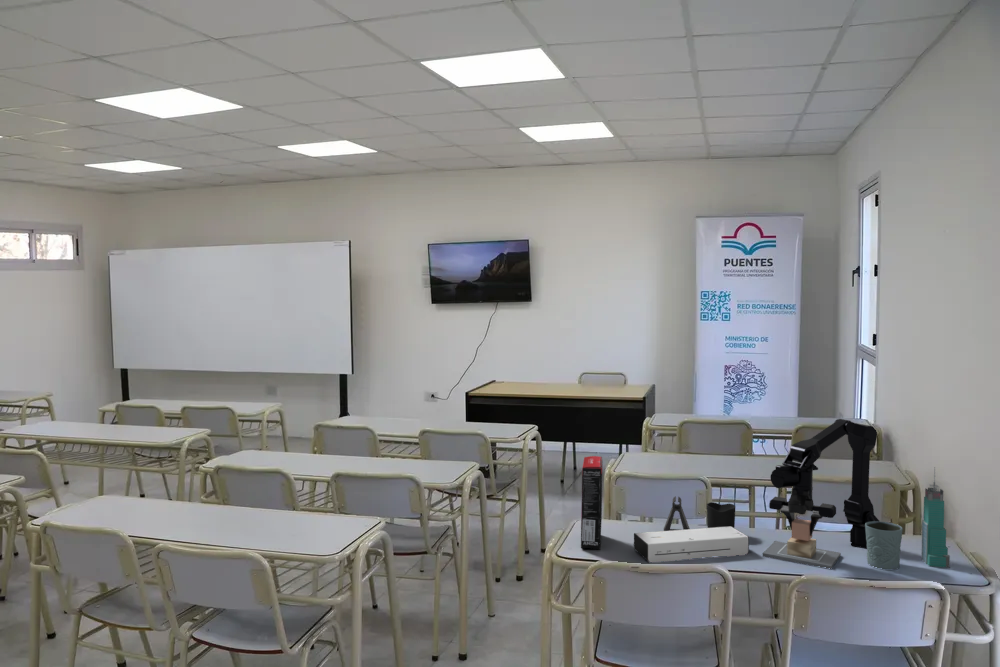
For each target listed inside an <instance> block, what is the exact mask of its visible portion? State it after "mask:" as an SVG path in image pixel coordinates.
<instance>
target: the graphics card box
mask: <svg viewBox="0 0 1000 667" xmlns="http://www.w3.org/2000/svg"><path fill="white" fill-rule="evenodd" d="M580 510H581V511H580V512H581V513H580V514H581V515H580V518H581V519H580V520H581V521H580V532H581V533H580V548H581V549H583V548H593V549H592V550H600V549H601V543H602V541H601V540H602V538H601V537H602V536H601V535H602V517H603V516H602V513H603V512H602V511H603V457H602V456H598V455H597V456H596V455H592V456H584V457H583V463H582V470H581V509H580Z"/></svg>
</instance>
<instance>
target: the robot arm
mask: <svg viewBox="0 0 1000 667" xmlns="http://www.w3.org/2000/svg"><path fill="white" fill-rule="evenodd" d="M844 436H847V442H848V445H849V446H850V448H851V450H852V468H851V493H850V496H849V497H848V499H844V501H843V510H842V512H844V517H845V518H846V521H847V524H849V525H852V527H851V529H849V531H850V532H849V536H850V537H849V538H850V539H849V542H850V547H851V546H852V547H858V548H863V547H865V548H864V549H867V540H866V529H865V523H867V522H871V521H880V520H879V519H878V517H877V516H876V515H875V511H874V505H873V502H872V501H871V499H870V496H869V492H870V491H869V488H870V487H869V486H870V465H871V464H870V462H871V460H870V459H871V458H870V457H871V456H870V455H871V452H872V450H873V449H874V448H875V446H876V444H877V443H876V442H877V438H878V432H877V429H876V428H875V427H874V426H872V425H866V424H863V423H857V422H853V421H851V420H849V419H842V418H838V419H835V421H834V422H833V423H832V424H830V425H828V426H827V427H826V428H825V429H823V430H822V431H820V432H818V433H817V434H816V435H814V436H812V437H811V438H809V439H804V440H800V441H797V442H795V443H794V444H792V445H791V446H790V448H789V450H788V452H787V454H786V457H785V458H784V460H783V462H782V465H777V464H776V465H775V469H773V470H772V471H771V474H770V482H771V484H772V485H773V487H775V488H777V489H783V488H791V494H790V496H789V499H787V498H786V497H780V496H774V497H772V499H770V500H769V504H768V505H769V506H768V507H769V509H770V510H776V511H777V510H778V511H779V512H780V514H784V516H785V517H786V519H787V521H788V524H789V527H790V530H791V531H792V522H793V521H794V520H795V519H796V518H795V514H799V515H805V514H806V512H812V514H811V516H810V521H811V525H810V536H812V537H813V533H814V531H815V528H816V527H817V526H816V525H817V523H818V521H819V520H820V519H822V518H829V519H832V518H834V517H835V516H836V515H837V507H836V505H835V504H829V503H823V502H822V503H821V505H815V504H814V499H813V490H814V489H813V488H814V487H813V478H814V476H813V471H818V470H819V467H817V465H815V463H816V461H818V460H819V458H821V454H822V452H823V451H824V450H825V449H827V448H828V447H830V446H831V445H833V444H834V443H835V442H837V441H838V440H840V439H841V438H843V437H844Z"/></svg>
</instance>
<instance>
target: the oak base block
mask: <svg viewBox="0 0 1000 667" xmlns="http://www.w3.org/2000/svg"><path fill="white" fill-rule="evenodd" d="M786 543H787V554H790V555H796V556H801V557H806V558H812V556H813V555H814V554H815V553H816V548H817V539H816V538H811V539H810V540H809V541H806V540H800V539H794V538H792V536H791V537H789V539H788V540H787V542H786Z"/></svg>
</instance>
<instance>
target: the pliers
mask: <svg viewBox="0 0 1000 667" xmlns="http://www.w3.org/2000/svg"><path fill="white" fill-rule="evenodd" d="M676 502H677V503H676ZM671 506H672V507H671V509H670V510H669V514H668V517H667V519H666V522H665V524H664V526H663V531H673V530H681V529H678V528H677V529H676V528H671V526H672V523H673V520H674V516H675V513H676V512H678V514H679V517H680V522H681V525H682V530H688V529H691V528H690V526H689V522H688V520H687V518H686V515H685V512H684V509H683V507H682V498H681V497H680V496H677V497H676V496H673V498H672V505H671Z"/></svg>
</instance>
